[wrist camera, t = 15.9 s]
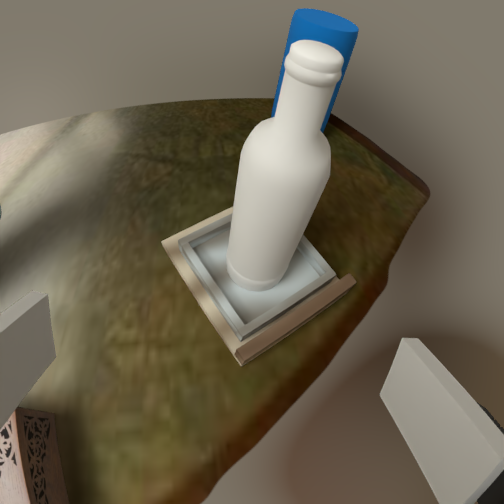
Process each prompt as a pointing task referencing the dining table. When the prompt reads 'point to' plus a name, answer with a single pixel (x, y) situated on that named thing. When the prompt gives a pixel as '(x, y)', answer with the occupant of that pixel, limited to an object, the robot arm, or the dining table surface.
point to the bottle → (283, 170)
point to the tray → (251, 302)
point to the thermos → (325, 31)
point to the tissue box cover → (30, 460)
